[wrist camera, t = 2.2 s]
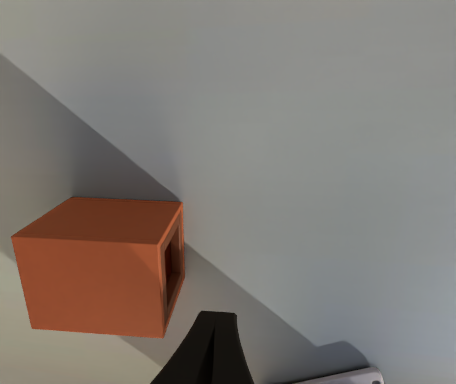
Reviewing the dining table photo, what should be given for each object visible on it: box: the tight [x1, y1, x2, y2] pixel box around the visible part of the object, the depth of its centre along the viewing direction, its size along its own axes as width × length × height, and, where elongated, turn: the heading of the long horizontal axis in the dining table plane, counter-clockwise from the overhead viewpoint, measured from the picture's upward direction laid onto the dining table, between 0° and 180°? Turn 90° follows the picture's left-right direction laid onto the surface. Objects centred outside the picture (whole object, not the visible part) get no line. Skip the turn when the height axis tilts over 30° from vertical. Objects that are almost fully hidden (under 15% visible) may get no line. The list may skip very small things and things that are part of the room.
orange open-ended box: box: [11, 197, 185, 338], centre depth 17 cm, size 6×5×5 cm
